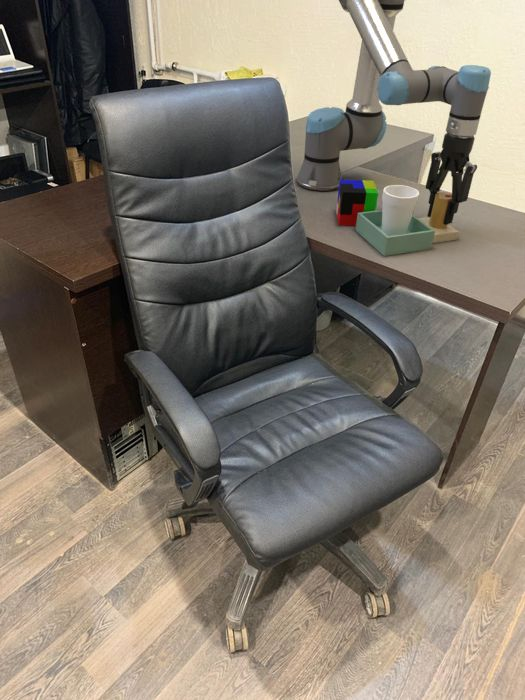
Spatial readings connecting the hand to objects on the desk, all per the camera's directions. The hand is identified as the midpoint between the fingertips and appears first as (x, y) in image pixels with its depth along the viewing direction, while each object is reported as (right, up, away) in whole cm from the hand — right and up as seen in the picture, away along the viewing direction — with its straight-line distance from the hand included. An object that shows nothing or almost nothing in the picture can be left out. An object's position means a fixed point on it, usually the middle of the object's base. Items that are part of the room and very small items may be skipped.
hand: (439, 219), depth 149 cm
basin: (-14, -6, -1) cm, 15 cm away
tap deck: (-1, -3, +2) cm, 4 cm away
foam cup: (-14, -5, -2) cm, 15 cm away
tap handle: (0, -1, +1) cm, 2 cm away
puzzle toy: (-23, +2, +9) cm, 25 cm away
